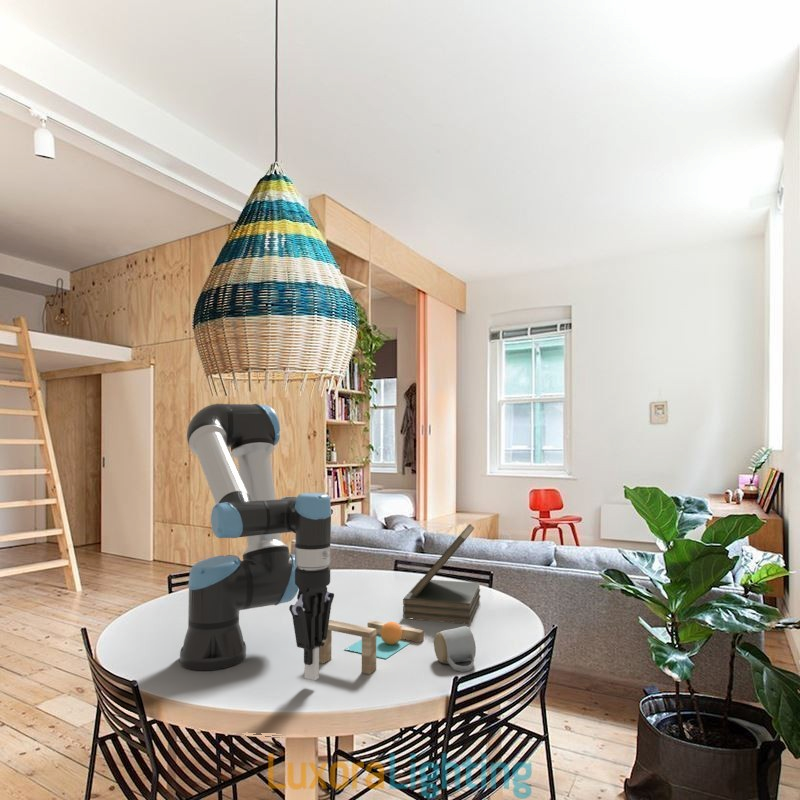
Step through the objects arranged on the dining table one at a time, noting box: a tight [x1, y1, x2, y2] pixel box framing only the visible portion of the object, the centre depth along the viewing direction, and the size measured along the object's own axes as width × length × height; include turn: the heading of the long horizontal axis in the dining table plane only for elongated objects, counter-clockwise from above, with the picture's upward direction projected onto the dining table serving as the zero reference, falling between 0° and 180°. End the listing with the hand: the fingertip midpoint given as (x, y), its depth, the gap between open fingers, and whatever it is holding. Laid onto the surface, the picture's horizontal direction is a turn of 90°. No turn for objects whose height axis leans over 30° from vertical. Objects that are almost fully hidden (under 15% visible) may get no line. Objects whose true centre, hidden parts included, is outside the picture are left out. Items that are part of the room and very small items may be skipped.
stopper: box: [367, 620, 425, 643], centre depth 162 cm, size 16×2×2 cm, turn 61°
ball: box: [380, 621, 402, 645], centre depth 156 cm, size 6×6×6 cm
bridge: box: [319, 619, 377, 675], centre depth 142 cm, size 3×14×9 cm, turn 61°
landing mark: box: [344, 635, 410, 660], centre depth 154 cm, size 12×12×1 cm
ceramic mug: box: [433, 625, 477, 673], centre depth 143 cm, size 11×8×8 cm
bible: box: [402, 523, 481, 625], centre depth 185 cm, size 23×20×25 cm
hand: (311, 677), depth 130 cm, fingers closed
